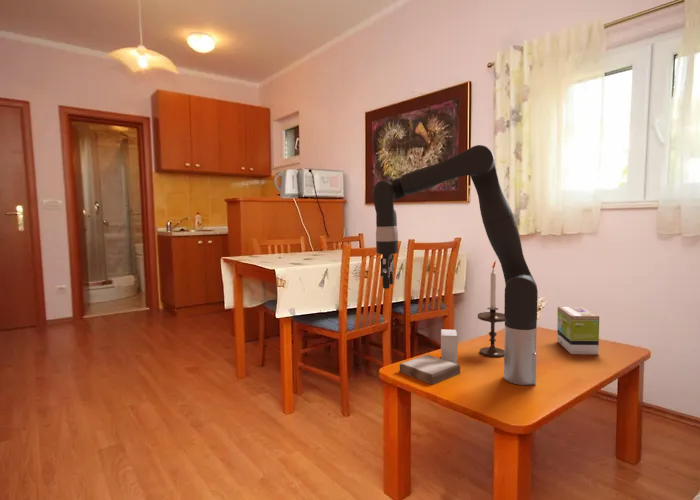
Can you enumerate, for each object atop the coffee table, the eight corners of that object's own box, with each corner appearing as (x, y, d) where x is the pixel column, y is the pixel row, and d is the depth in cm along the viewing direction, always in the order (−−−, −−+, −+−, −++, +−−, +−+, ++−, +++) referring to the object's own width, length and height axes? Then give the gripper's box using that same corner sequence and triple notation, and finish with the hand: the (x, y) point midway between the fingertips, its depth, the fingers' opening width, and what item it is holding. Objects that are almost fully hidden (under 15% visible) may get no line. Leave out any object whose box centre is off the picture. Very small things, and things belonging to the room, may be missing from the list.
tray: (460, 373, 138) (460, 364, 138) (432, 384, 129) (432, 375, 129) (427, 362, 149) (427, 353, 149) (399, 371, 140) (399, 363, 140)
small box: (457, 365, 145) (457, 335, 144) (441, 364, 146) (441, 335, 145) (456, 357, 153) (456, 329, 152) (440, 356, 154) (440, 328, 153)
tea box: (556, 341, 169) (556, 305, 167) (582, 342, 167) (583, 306, 166) (570, 354, 154) (571, 315, 152) (599, 355, 152) (600, 315, 151)
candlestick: (506, 349, 160) (507, 258, 157) (509, 359, 150) (511, 262, 147) (476, 347, 163) (477, 258, 160) (478, 357, 153) (478, 262, 149)
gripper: (395, 240, 136) (396, 290, 137) (400, 238, 150) (401, 283, 151) (372, 241, 138) (373, 289, 139) (379, 238, 152) (380, 282, 153)
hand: (388, 286), depth 145 cm, fingers open, 8 cm apart
